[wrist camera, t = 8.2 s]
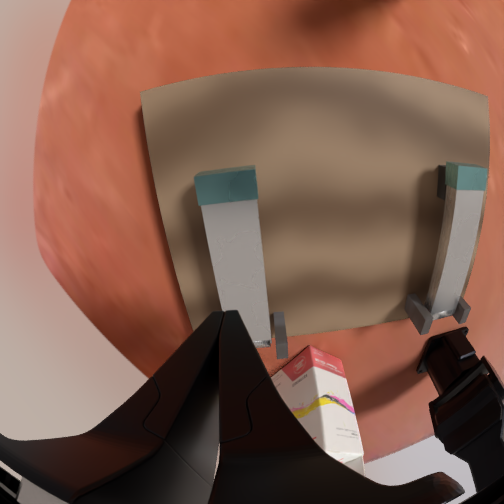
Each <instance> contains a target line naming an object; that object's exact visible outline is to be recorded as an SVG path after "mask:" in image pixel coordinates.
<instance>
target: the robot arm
mask: <svg viewBox="0 0 504 504" xmlns="http://www.w3.org/2000/svg"><path fill="white" fill-rule="evenodd" d="M468 330H469V329H468V328H467V327H464V328H461V329H458V330H454V331H451V332H448V333H444V334H441V335H438V336H434V337H432V338H431V339H430V340H429V342H428V345H427V347H426V349H425V352H424V354H423V357H422V359H421V361H420V363H419V366H418V368H417V370H416V371H417V373H418V374H420V373H423V372H428V374H429V376H430V378H431V380H432V382H433V384H434V386H435V388H436V390H437V392H438V394H439V397H437V398H436V399H435V400H433V401H431V402H430V403H429V408H430V409H429V411H430V415H431V419H432V424H433V428H434V433H435V437H436V438H439V440H440V441H441V442H442V443H443V444H444V447H445V450H446V451H447V452H448V453H450V454H453V455H455V456H457V457H458V458H460V459H462V460H464V461H465V462H467V463H468V464H469V467H470V470H471V473H472V477H473V481H474V484H475V488H476V492H477V493H476V494H474V495H473V496H471V497H469V498H468V499H466V500H464V501H463V502H461V503H459V504H504V385H503V383H502V381H501V379H500V377H499V375H498V374H497V372H496V371H495V369H494V368H493V366H492V365H491V363H490V362H489V361H488V360H487V359H486V357H485V356H483V357H482V358H481V360H479V359H478V357H477V356H476V354H475V353H476V351H475V350H474V348H473V347H472V345H471V344H470V342H469V341H468V339H467V338H466V335H467V333H468ZM488 373H489V375H487V374H488ZM219 443H220V456H219V464H218V468H217V472H216V475H215V479H214V473H215V467H216V460H217V453H218V446H219ZM0 461H2V462H3V463H4V464H6V465H7V466H8V467H10V468H11V469H12V470H14V471H15V472H17V473H18V474H20V475H21V476H22V479H21V481H20V480H18V479H17V478H16V477H14V476H13V475H11V474H10V473H9V472H7V471H6V470H4V469H3V468H1V467H0V504H446V503H448V502H450V501H451V500H453V499H455V498H457V497H459V496H461V495H462V494H464V493H465V491H464V489H463V487H462V486H461V485H460V484H459V483H458V482H457V481H455V480H454V479H452V478H451V477H449V476H448V475H446V474H445V473H443V472H437V473H433V474H430V475H427V476H425V477H422V478H420V479H417V480H414V481H412V482H409V483H406V484H403V485H397V486H387V485H382V484H379V483H376V482H374V481H372V480H370V479H368V478H366V477H365V476H363V475H361V474H360V473H358V472H356V471H354V470H353V469H351V468H349V467H348V466H346V465H344V464H343V463H341V462H339V461H338V460H336V459H335V458H333V457H331V456H330V455H329V454H327V453H326V452H325V451H324V450H323V449H322V448H321V447H320V446H319V445H318V444H317V443H316V442H315V441H314V439H313V438H312V437H311V436H310V435H309V433H308V432H307V431H306V430H305V428H304V427H303V426H302V425H301V423H300V422H299V421H298V419H297V418H296V417H295V416H294V414H293V413H292V412H291V410H290V409H289V408H288V406H287V405H286V403H285V402H284V400H283V399H282V397H281V396H280V394H279V392H278V390H277V389H276V387H275V385H274V383H273V381H272V379H271V377H270V376H269V374H268V372H267V370H266V368H265V365H264V363H263V361H262V359H261V357H260V355H259V353H258V351H257V349H256V347H255V345H254V343H253V341H252V339H251V337H250V335H249V333H248V330H247V328H246V326H245V324H244V322H243V320H242V318H241V316H240V313H239V311H238V310H227V311H213V312H211V313H210V314H209V315H208V316H207V318H206V319H205V320H204V321H203V322H202V323H201V324H200V325H199V326H198V327H197V328H196V329H195V330H194V332H193V333H192V334H191V335H190V336H189V337H188V338H187V339H186V340H185V341H184V342H183V343H182V344H181V345H180V347H179V348H178V349H177V350H176V351H175V352H174V353H173V354H172V355H171V356H170V357H169V358H168V359H167V360H166V361H165V363H164V364H163V365H162V366H161V367H160V368H159V369H158V370H157V371H156V372H155V373H154V374H153V377H150V378H149V379H148V380H147V382H146V383H145V384H144V385H143V386H142V387H141V388H140V389H139V390H138V391H137V392H136V393H135V394H134V395H132V396H131V397H130V398H129V399H128V400H127V401H126V402H124V404H122V405H121V406H120V407H119V408H117V409H116V410H115V411H114V412H113V413H111V414H110V415H109V416H108V417H107V418H105V419H104V420H103V421H102V422H101V423H99V424H98V425H97V426H96V427H94V428H93V429H91V430H89V431H88V432H86V433H83V434H80V435H76V436H70V437H62V438H54V439H43V440H28V441H19V440H12V439H9V438H7V437H5V436H3V435H2V434H1V433H0ZM213 481H214V482H213Z"/></svg>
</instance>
